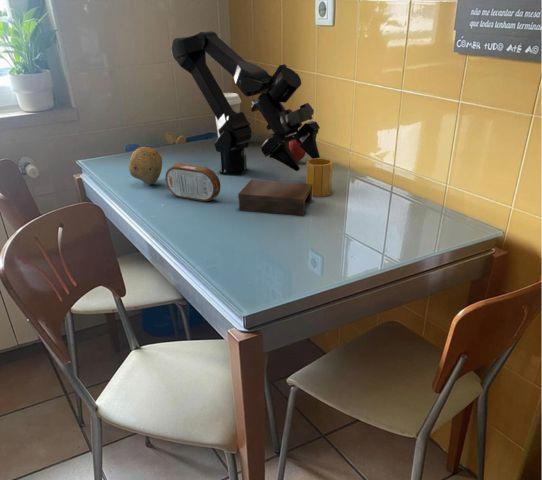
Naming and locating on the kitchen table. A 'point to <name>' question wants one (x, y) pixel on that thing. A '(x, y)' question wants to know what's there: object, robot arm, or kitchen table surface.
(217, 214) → the kitchen table surface
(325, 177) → the cup
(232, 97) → the coffee cup
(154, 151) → the potato
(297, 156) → the onion
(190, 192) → the tin
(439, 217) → the kitchen table surface
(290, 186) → the brown wooden board
